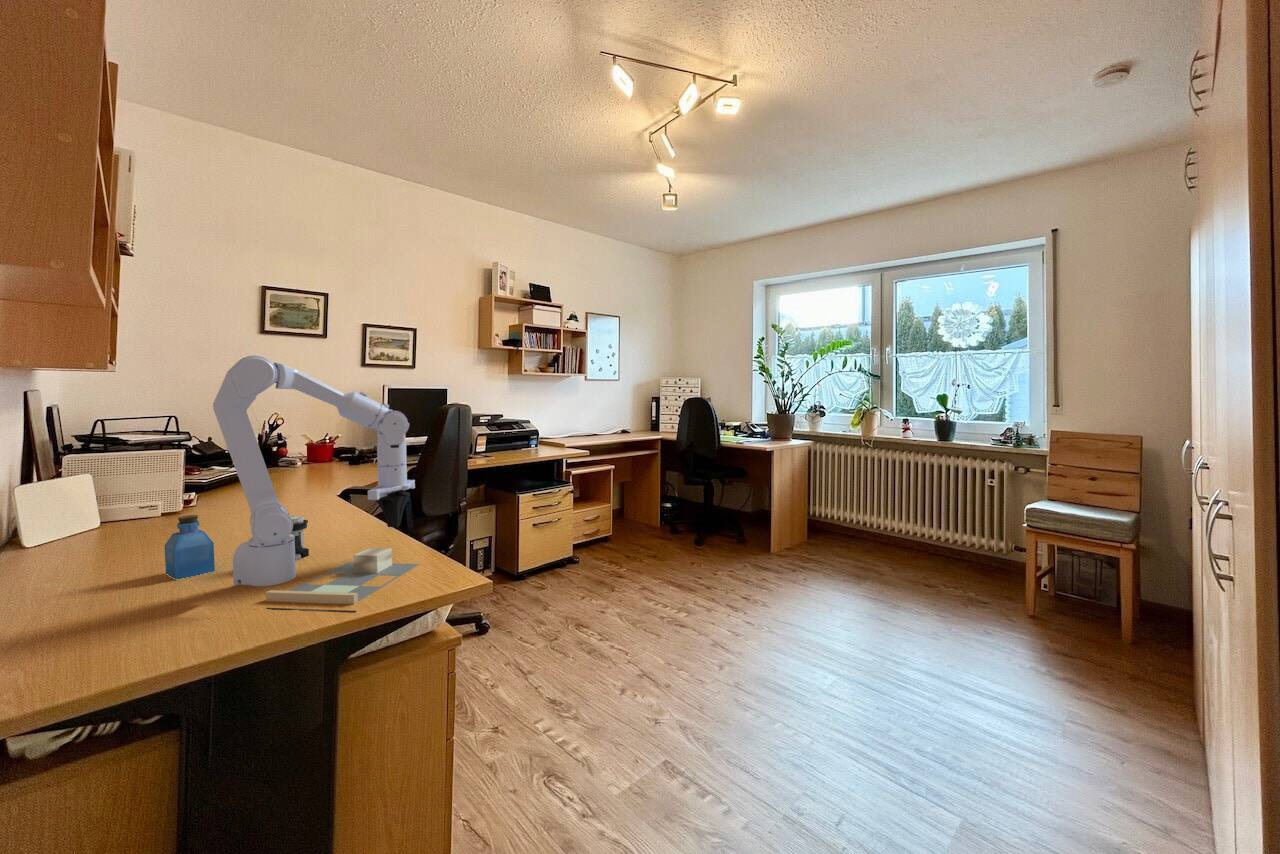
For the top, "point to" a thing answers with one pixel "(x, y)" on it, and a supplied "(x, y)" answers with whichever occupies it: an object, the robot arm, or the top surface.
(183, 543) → the perfume bottle
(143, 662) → the top surface
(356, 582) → the board
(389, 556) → the maple block
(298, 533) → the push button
